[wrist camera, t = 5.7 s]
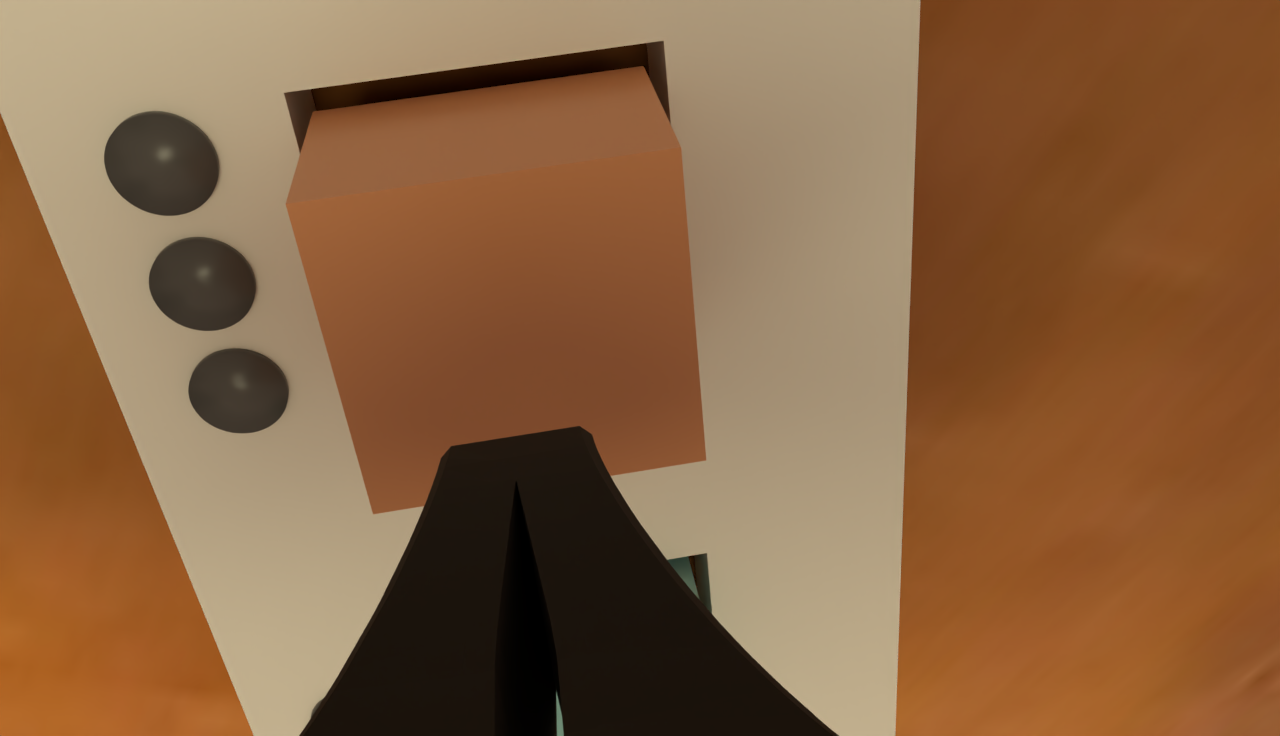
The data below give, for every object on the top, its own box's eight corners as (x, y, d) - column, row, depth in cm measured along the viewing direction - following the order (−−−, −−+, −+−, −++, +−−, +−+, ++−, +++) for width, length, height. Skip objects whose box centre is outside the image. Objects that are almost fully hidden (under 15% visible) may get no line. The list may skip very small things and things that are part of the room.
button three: (643, 65, 16) (681, 147, 13) (669, 345, 18) (706, 461, 15) (312, 111, 15) (285, 203, 13) (383, 389, 18) (373, 513, 15)
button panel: (893, -1430, 11) (983, -1651, 9) (864, 749, 27) (894, 830, 25) (-489, -1358, 10) (-701, -1584, 8) (339, 844, 26) (331, 933, 24)
